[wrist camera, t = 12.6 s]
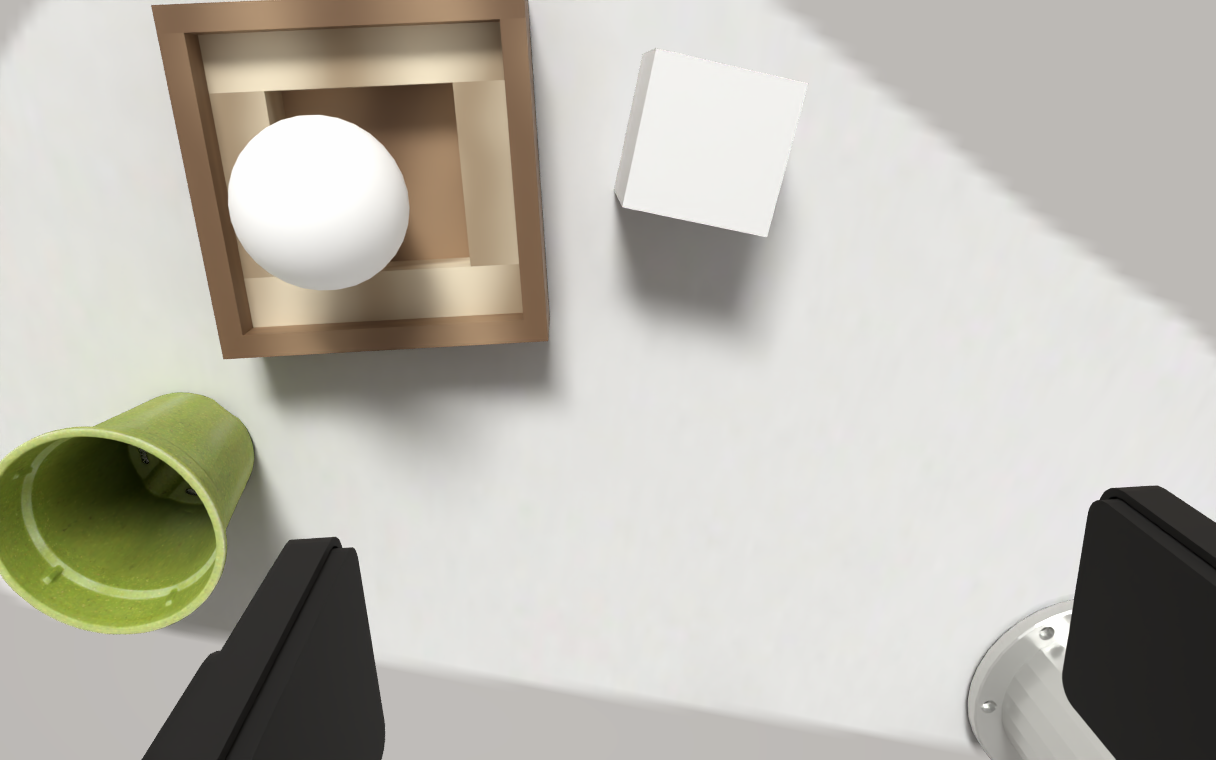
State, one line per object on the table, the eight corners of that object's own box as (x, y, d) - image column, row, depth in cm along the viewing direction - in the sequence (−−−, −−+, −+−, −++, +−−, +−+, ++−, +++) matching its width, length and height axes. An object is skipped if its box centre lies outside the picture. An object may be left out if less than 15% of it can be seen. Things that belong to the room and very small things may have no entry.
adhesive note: (738, 216, 40) (767, 238, 34) (613, 190, 39) (621, 208, 33) (772, 83, 38) (809, 82, 32) (642, 53, 37) (656, 47, 31)
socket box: (527, -1, 36) (523, -11, 32) (549, 317, 40) (548, 341, 37) (195, 14, 35) (151, 5, 32) (255, 333, 40) (223, 359, 36)
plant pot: (305, 525, 44) (245, 627, 35) (120, 539, 43) (17, 645, 35) (270, 353, 40) (195, 420, 32) (71, 367, 40) (-55, 438, 32)
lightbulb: (425, 264, 39) (373, 327, 28) (291, 230, 38) (187, 283, 28) (452, 130, 37) (407, 147, 27) (312, 92, 36) (208, 94, 26)
